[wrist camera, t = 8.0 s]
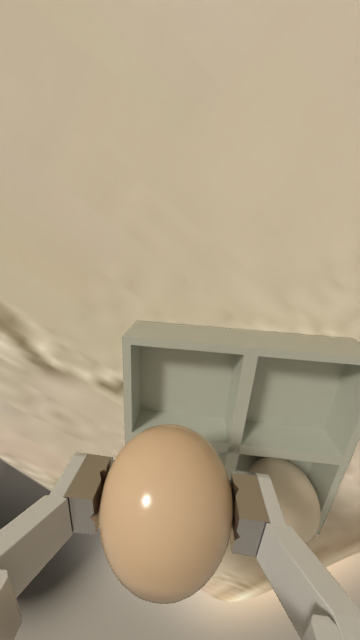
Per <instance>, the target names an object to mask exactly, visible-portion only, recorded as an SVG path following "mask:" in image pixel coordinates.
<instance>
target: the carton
mask: <svg viewBox="0 0 360 640" xmlns="http://www.w3.org/2000/svg"><path fill="white" fill-rule="evenodd" d="M122 348H123V384H124V421H125V445H126V444H127V443H128V442H129V441H130V440H131V439H132V438H133V437H135V436H136V435H137V434H139V433H141V432H142V431H144V430H146V429H148V428H150V427H153V426H157V425H163V424H176V425H181V426H184V427H187V428H189V429H191V430H193V431H195V432H197V433H198V434H200V435H201V436H202V437H204V438H205V439H206V440H207V441H208V442H209V443H210V444H211V445H212V447H213V448H214V449H215V451H216V452H217V454H218V455H219V457H220V459H221V461H222V463H223V465H224V467H225V469H226V472H227V475H228V474H229V471H230V470H234V471H244V472H248V470H249V468H250V467H251V466H252V464H253V463H254V462H256V461H257V460H259V459H261V458H263V457H271V458H280V459H286V460H288V461H290V462H291V463H293V464H294V465H296V466H297V467H298V468H299V469H300V470H301V471H302V472H303V473H304V474H305V475H306V476H307V478H308V479H309V480H310V482H311V484H312V485H313V487H314V489H315V491H316V494H317V497H318V500H319V504H320V512H321V517H320V525H319V528H318V531H317V533H316V534H319V533H320V531H321V528H322V526H323V524H324V521H325V519H326V516H327V514H328V512H329V509H330V507H331V505H332V502H333V500H334V497H335V495H336V493H337V490H338V488H339V486H340V483H341V481H342V479H343V476H344V474H345V471H346V469H347V467H348V464H349V462H350V460H351V457H352V455H353V452H354V450H355V448H356V445H357V443H358V441H359V438H360V342H358V341H356V340H355V339H353V338H341V337H329V336H317V335H304V334H292V333H280V332H268V331H256V330H244V329H231V328H219V327H207V326H195V325H183V324H170V323H158V322H146V321H136V322H135V323H134V324H133V325H132V326H131V327H130V328H129V329H128V331H127V332H126V333H125V334H124V335H123V336H122Z"/></svg>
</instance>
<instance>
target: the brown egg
mask: <svg viewBox="0 0 360 640" xmlns="http://www.w3.org/2000/svg"><path fill="white" fill-rule="evenodd" d="M232 520H233V501H232V491H231V486H230V482H229V478H228V475H227V472H226V469H225V467H224V465H223V463H222V461H221V459H220V457H219V455H218V454H217V452H216V451H215V449H214V448H213V447H212V445H211V444H210V443H209V442H208V441H207V440H206V439H205V438H204V437H202V436H201V435H200V434H198V433H197V432H195V431H193V430H191V429H189V428H187V427H184V426H181V425H176V424H163V425H157V426H153V427H150V428H148V429H146V430H144V431H142V432H141V433H139V434H137V435H136V436H135V437H133V438H132V439H131V440H130V441H129V442H128V443H127V444H126V445H125V446H124V447H123V448H122V450H121V451H120V452H119V454H118V455H117V457H116V458H115V460H114V461H113V463H112V465H111V467H110V469H109V472H108V474H107V476H106V479H105V482H104V485H103V490H102V495H101V500H100V509H99V529H100V535H101V541H102V546H103V549H104V552H105V556H106V559H107V561H108V563H109V565H110V567H111V569H112V571H113V573H114V574H115V576H116V577H117V578H118V580H119V581H120V582H121V584H122V585H123V586H124V587H125V588H126V589H128V590H129V591H130V592H131V593H132V594H134V595H135V596H137V597H139V598H141V599H143V600H145V601H149V602H152V603H159V604H169V603H175V602H178V601H181V600H183V599H186V598H188V597H190V596H191V595H193V594H195V593H196V592H197V591H198V590H200V589H201V588H202V587H203V586H204V585H205V584H206V583H207V582H208V581H209V579H210V578H211V577H212V576H213V575H214V573H215V571H216V570H217V568H218V566H219V565H220V563H221V561H222V559H223V556H224V554H225V552H226V549H227V546H228V542H229V538H230V535H231V528H232Z"/></svg>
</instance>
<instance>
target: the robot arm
mask: <svg viewBox="0 0 360 640" xmlns="http://www.w3.org/2000/svg"><path fill="white" fill-rule="evenodd" d="M112 463H113V457H107V456H100V455H93V454H86V453H78V452H77V453H76V454H75V455H74V456H73V457H72V459H71V461H70V462H69V464H68V465H67V467H66V469H65V470H64V472H63V474H62V475H61V477H60V478H59V480H58V482H57V483H56V485H55V487H54V488H53V490H52V492H51V493H50V495H49V496H46V495H45V496H44V497H42V498H41V499H40V500H39V501H37V502H36V503H35V504H33V505H32V506H31V507H29V508H28V509H27V510H25V511H24V512H23V513H22V514H20V515H19V516H18V517H17V518H15V519H14V520H13V521H11V522H10V523H9V524H7V525H6V526H5V527H4V528H2V529H1V530H0V640H14V638H15V636H16V634H17V632H18V629H19V627H20V625H21V623H22V615H21V612H20V609H19V606H18V603H17V600H16V598H17V597H18V595H19V594H20V593H21V592H22V591H23V590H24V589H25V587H26V586H27V585H28V584H29V583H30V582H31V581H32V580H33V578H34V577H35V576H36V575H37V574H38V573H39V572H40V571H41V569H42V568H43V567H44V566H45V565H46V564H47V563H48V561H49V560H50V559H51V558H52V557H53V556H54V555H55V554H56V552H57V551H58V550H59V549H60V548H61V547H62V546H63V544H64V543H65V542H66V541H67V540H68V539H69V538H70V536H71V535H72V532H74V533H84V534H94V535H95V534H96V532H97V529H98V526H99V509H100V500H101V495H102V490H103V485H104V482H105V479H106V476H107V474H108V472H109V469H110V467H111V465H112ZM228 478H229V482H230V486H231V491H232V501H233V520H232V528H231V535H230V542H231V550H232V553H236V554H242V555H248V556H254V557H256V559H257V561H258V563H259V565H260V566H261V568H262V570H263V572H264V574H265V575H266V577H267V579H268V581H269V583H270V584H271V586H272V588H273V590H274V592H275V593H276V595H277V597H278V599H279V600H280V602H281V604H282V606H283V608H284V609H285V611H286V613H287V615H288V617H289V618H290V620H291V622H292V623H293V626H294V627H295V629H296V631H297V633H298V635H299V636H300V638H301V640H360V609H359V607H358V606H357V605H356V604H355V603H354V601H353V600H352V599H351V598H350V596H349V595H348V594H347V593H346V592H345V591H344V589H343V588H342V587H341V586H340V584H339V583H338V582H337V581H336V580H335V578H334V577H333V576H332V575H331V574H330V572H329V571H328V570H327V569H326V568H325V566H324V565H323V564H322V563H321V562H320V560H319V559H318V558H317V557H316V556H315V554H314V553H313V552H312V551H311V549H310V548H309V547H308V546H307V545H306V543H305V542H304V541H303V540H302V539H301V537H300V536H299V535H298V534H297V533H296V531H295V530H294V529H293V528H292V527H291V526H287V524H286V522H285V519H284V516H283V513H282V510H281V507H280V504H279V501H278V499H277V496H276V493H275V490H274V487H273V484H272V481H271V478H270V477H269V475H268V474H260V473H254V472H244V471H234V470H230V471H229V474H228Z"/></svg>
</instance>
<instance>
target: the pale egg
mask: <svg viewBox="0 0 360 640" xmlns="http://www.w3.org/2000/svg"><path fill="white" fill-rule="evenodd" d="M248 472H254V473H260V474H268V475H269V477H270V478H271V481H272V484H273V487H274V490H275V493H276V496H277V499H278V501H279V504H280V507H281V510H282V513H283V516H284V519H285V522H286V524H287V526H291V527H292V528H293V529H294V530H295V531H296V533H297V534H298V535H299V536H300V537H301V539H302V540H303V541H304V542H305V543H306V544H307V543H309V542H310V541H311V540H312V539H313V538H314V536H315V535H316V533H317V531H318V528H319V525H320V517H321V512H320V504H319V500H318V497H317V494H316V491H315V489H314V487H313V485H312V484H311V482H310V480H309V479H308V478H307V476H306V475H305V474H304V473H303V472H302V471H301V470H300V469H299V468H298V467H297V466H296V465H294V464H293V463H291V462H290V461H288V460H286V459H280V458H271V457H263V458H261V459H259V460H257V461H256V462H254V463H253V464H252V466H251V467H250V468H249V470H248Z"/></svg>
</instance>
